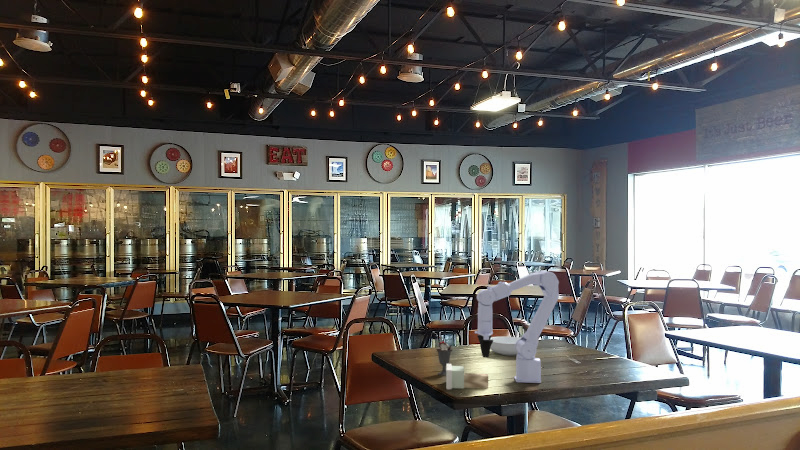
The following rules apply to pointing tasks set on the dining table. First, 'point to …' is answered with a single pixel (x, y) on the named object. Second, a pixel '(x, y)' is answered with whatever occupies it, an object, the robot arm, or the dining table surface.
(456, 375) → the block
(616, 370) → the dining table surface
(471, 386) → the peg
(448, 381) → the wall
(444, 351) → the sundae
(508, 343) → the serving bowl
